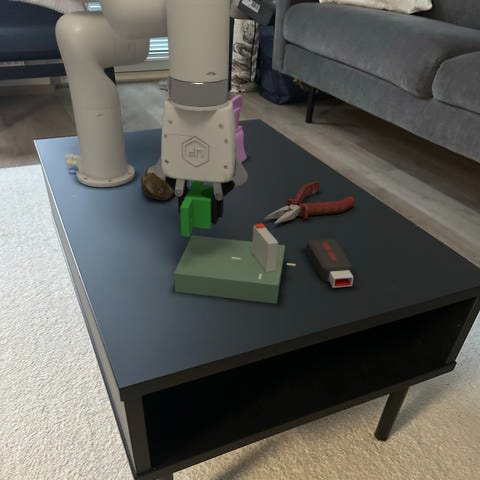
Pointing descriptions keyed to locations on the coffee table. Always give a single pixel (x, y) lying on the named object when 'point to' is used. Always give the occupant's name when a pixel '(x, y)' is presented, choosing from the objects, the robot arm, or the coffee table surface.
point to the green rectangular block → (227, 270)
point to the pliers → (309, 205)
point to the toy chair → (238, 128)
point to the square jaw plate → (264, 247)
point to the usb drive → (330, 262)
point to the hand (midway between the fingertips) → (201, 217)
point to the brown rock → (155, 186)
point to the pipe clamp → (196, 208)
